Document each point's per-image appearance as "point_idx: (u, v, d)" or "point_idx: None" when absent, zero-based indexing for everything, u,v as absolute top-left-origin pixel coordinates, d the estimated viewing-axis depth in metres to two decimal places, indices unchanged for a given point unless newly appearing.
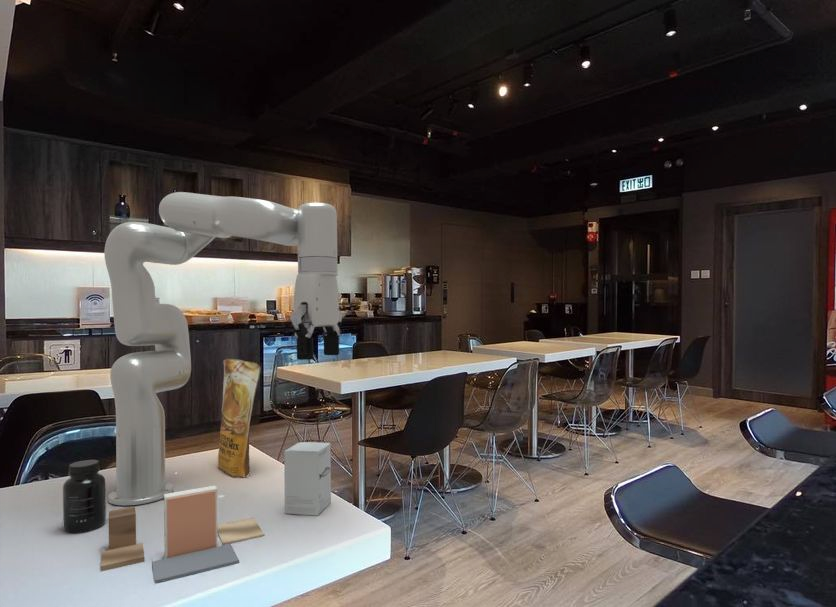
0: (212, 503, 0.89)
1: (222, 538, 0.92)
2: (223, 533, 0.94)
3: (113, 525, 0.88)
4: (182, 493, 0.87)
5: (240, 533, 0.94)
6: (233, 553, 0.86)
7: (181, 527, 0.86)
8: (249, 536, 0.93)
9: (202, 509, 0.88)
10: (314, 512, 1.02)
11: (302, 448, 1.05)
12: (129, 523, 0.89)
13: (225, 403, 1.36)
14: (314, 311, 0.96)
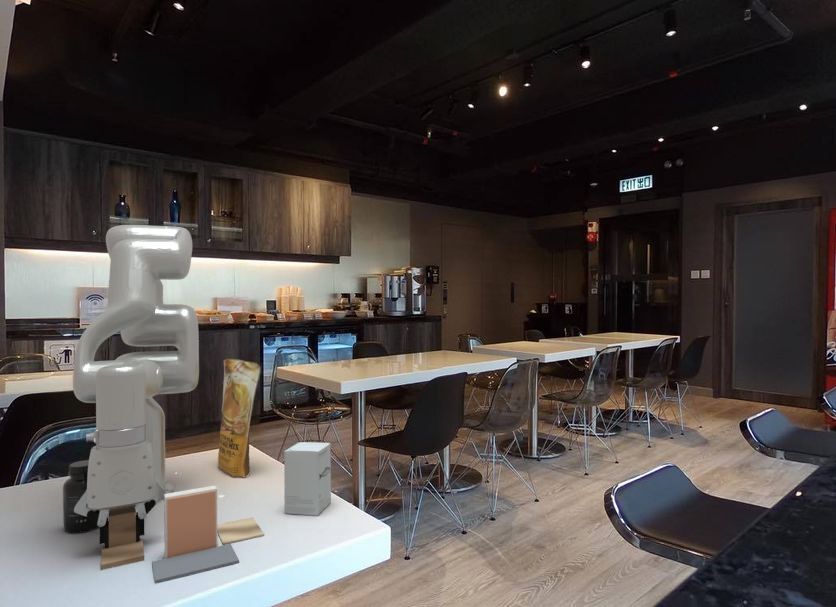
0: (212, 503, 0.89)
1: (222, 538, 0.92)
2: (223, 533, 0.94)
3: (113, 524, 0.88)
4: (182, 493, 0.87)
5: (240, 533, 0.94)
6: (233, 553, 0.86)
7: (181, 527, 0.86)
8: (249, 536, 0.93)
9: (202, 509, 0.88)
10: (314, 512, 1.02)
11: (302, 448, 1.05)
12: (129, 521, 0.89)
13: (225, 403, 1.36)
14: None
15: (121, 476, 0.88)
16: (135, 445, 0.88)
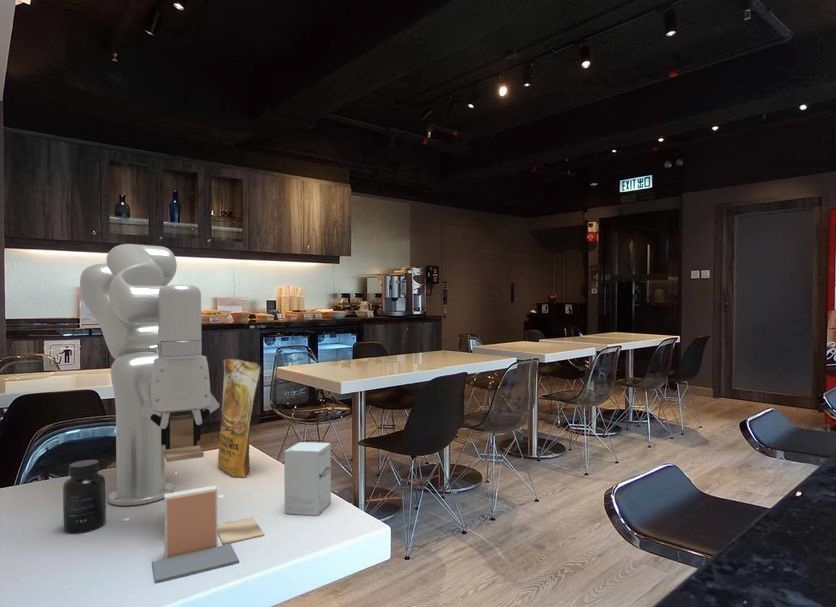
0: (212, 503, 0.89)
1: (222, 538, 0.92)
2: (223, 533, 0.94)
3: (173, 427, 0.97)
4: (182, 493, 0.87)
5: (240, 533, 0.94)
6: (233, 553, 0.86)
7: (181, 527, 0.86)
8: (249, 536, 0.93)
9: (202, 509, 0.88)
10: (314, 512, 1.02)
11: (302, 448, 1.05)
12: (187, 426, 0.98)
13: (225, 403, 1.36)
14: None
15: (180, 384, 0.97)
16: (193, 356, 0.98)
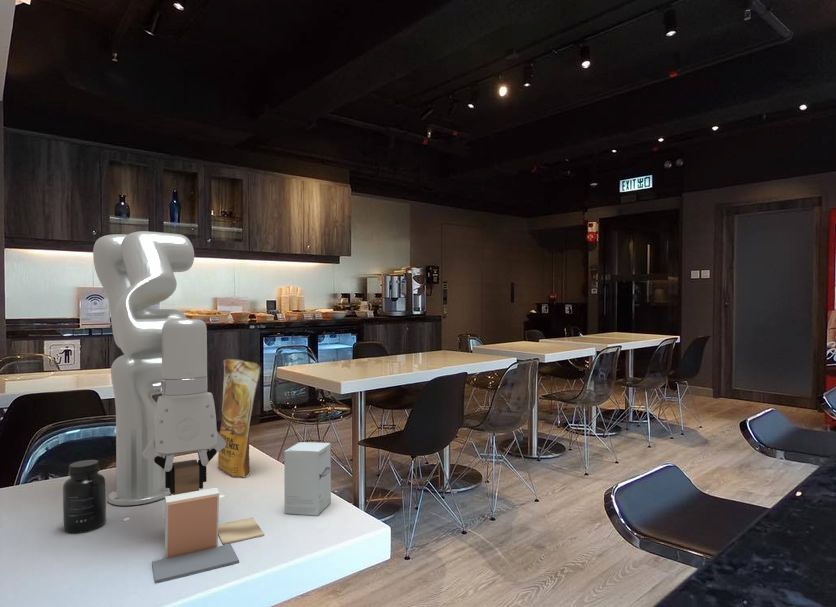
0: (214, 507, 0.87)
1: (222, 538, 0.92)
2: (223, 533, 0.94)
3: (178, 476, 0.92)
4: (183, 497, 0.85)
5: (240, 533, 0.94)
6: (233, 553, 0.86)
7: (182, 530, 0.85)
8: (249, 536, 0.93)
9: (203, 513, 0.87)
10: (314, 512, 1.02)
11: (302, 448, 1.05)
12: (193, 475, 0.93)
13: (225, 403, 1.36)
14: None
15: (186, 424, 0.92)
16: (199, 394, 0.93)
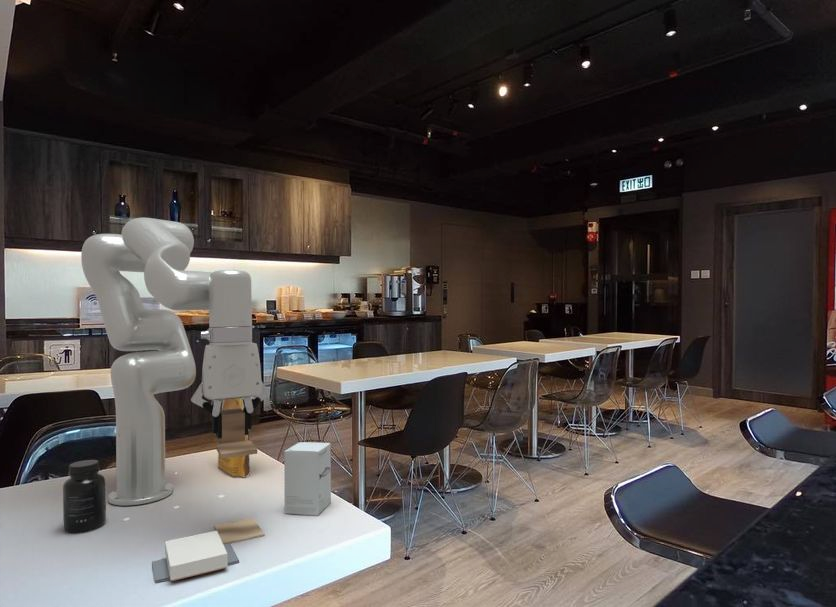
0: None
1: (222, 538, 0.92)
2: (223, 533, 0.94)
3: (225, 422, 0.95)
4: (190, 571, 0.78)
5: (240, 533, 0.94)
6: (233, 553, 0.86)
7: None
8: (249, 536, 0.93)
9: None
10: (314, 512, 1.02)
11: (302, 448, 1.05)
12: (239, 421, 0.96)
13: (225, 403, 1.36)
14: None
15: (232, 371, 0.95)
16: (245, 343, 0.96)
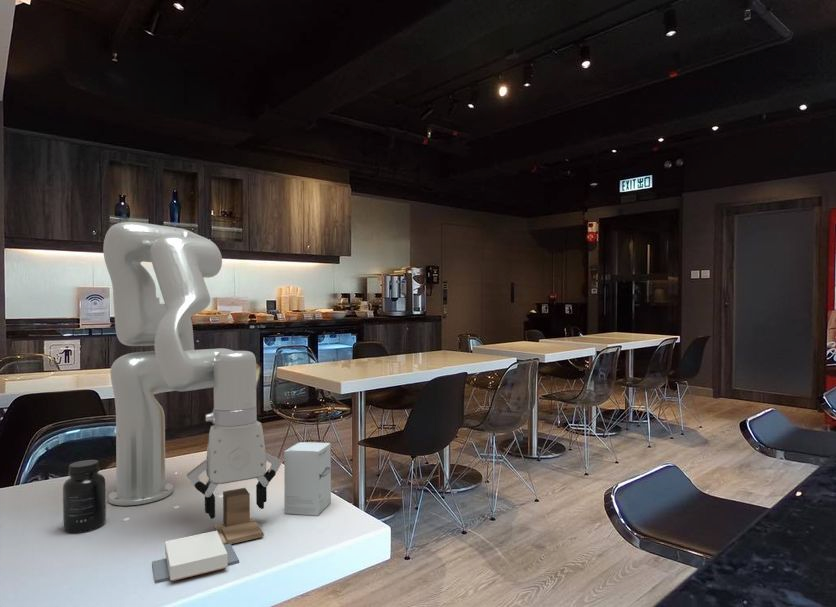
0: None
1: (222, 538, 0.92)
2: None
3: (230, 504, 0.95)
4: (190, 571, 0.78)
5: None
6: (233, 553, 0.86)
7: None
8: None
9: None
10: (314, 512, 1.02)
11: (302, 448, 1.05)
12: (244, 502, 0.97)
13: None
14: None
15: (237, 453, 0.95)
16: (250, 425, 0.96)
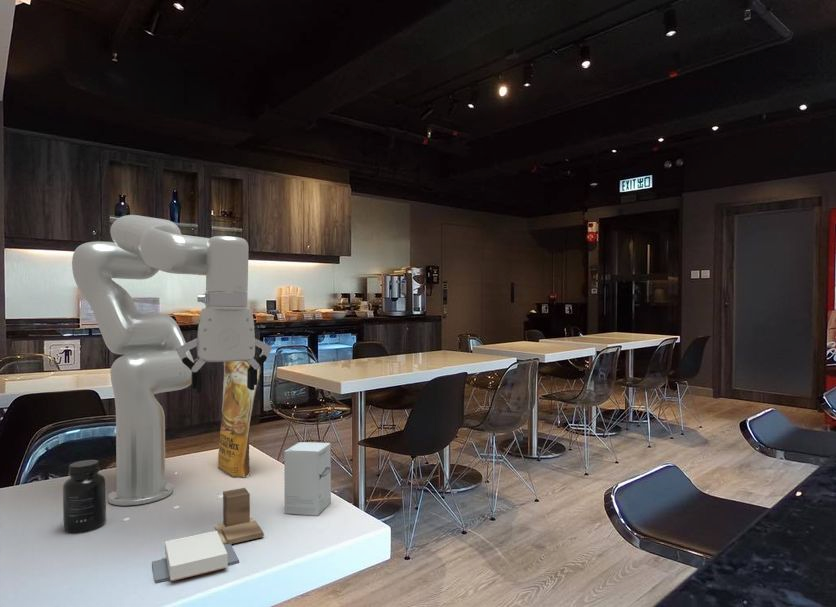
0: None
1: (222, 538, 0.92)
2: None
3: (230, 504, 0.95)
4: (190, 571, 0.78)
5: None
6: (233, 553, 0.86)
7: None
8: None
9: None
10: (314, 512, 1.02)
11: (302, 448, 1.05)
12: (244, 502, 0.97)
13: (225, 403, 1.36)
14: None
15: (227, 334, 0.98)
16: (240, 308, 0.98)
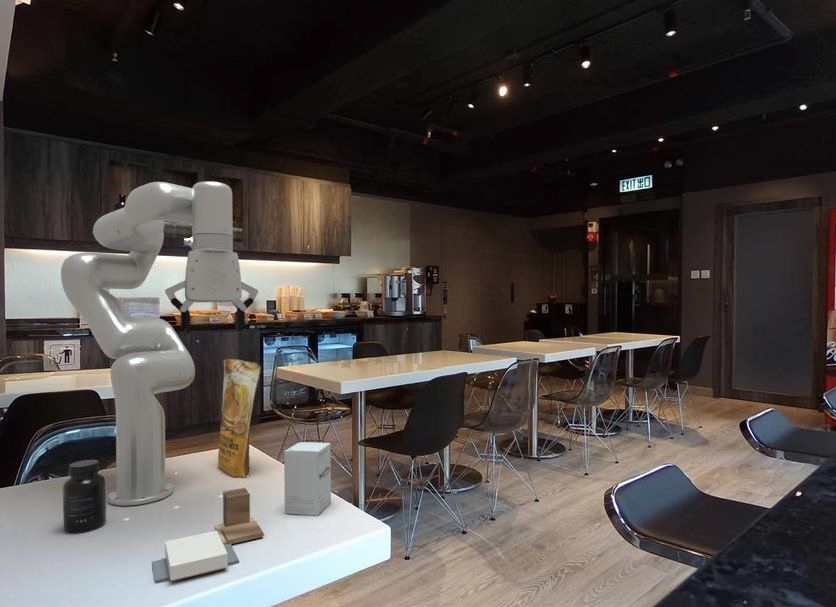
0: None
1: (222, 538, 0.92)
2: None
3: (230, 504, 0.95)
4: (190, 571, 0.78)
5: None
6: (233, 553, 0.86)
7: None
8: None
9: None
10: (314, 512, 1.02)
11: (302, 448, 1.05)
12: (244, 502, 0.97)
13: (225, 403, 1.36)
14: None
15: (214, 275, 1.01)
16: (226, 250, 1.02)
